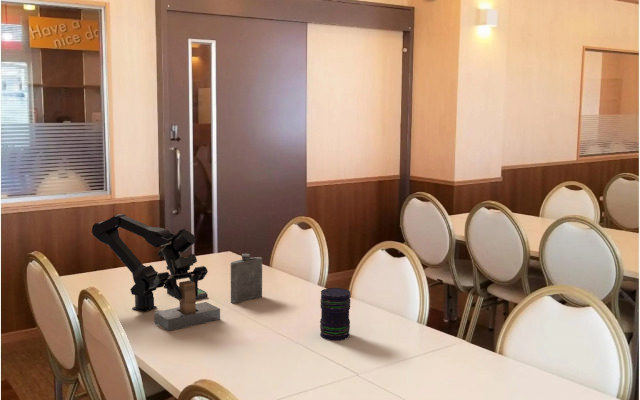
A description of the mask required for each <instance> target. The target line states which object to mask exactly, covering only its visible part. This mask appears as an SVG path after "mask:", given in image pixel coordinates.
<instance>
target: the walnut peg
mask: <svg viewBox="0 0 640 400" xmlns="http://www.w3.org/2000/svg"><path fill="white" fill-rule="evenodd" d="M178 286H179V290H180V292H181V295H182V299H180V300H179V307H180V312H181V313H183V314H187V313H192V312H196V304H197V303H196V300H195V283H194V282H192V281H190V279H189V280H184V281H179V282H178Z"/></svg>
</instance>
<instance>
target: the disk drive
mask: <svg viewBox="0 0 640 400" xmlns="http://www.w3.org/2000/svg"><path fill="white" fill-rule="evenodd" d="M178 288H179V285H178ZM166 294H167V295H169V296H171V297H172V298H173V297H174V298H175V299H177V300H179V301H180V299H179V298H178V297H177V296H176V295H175V294H173V293H172V292H171V291H169V290H168V289H166ZM204 299H208V292H207V291H205V290H203V289H201V288H198V296H195V301H199V300H204Z"/></svg>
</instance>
